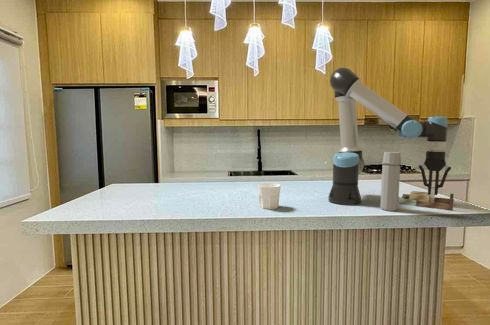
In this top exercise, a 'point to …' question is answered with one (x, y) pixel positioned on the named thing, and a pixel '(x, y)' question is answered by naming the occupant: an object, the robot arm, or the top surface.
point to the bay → (438, 202)
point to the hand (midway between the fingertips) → (432, 201)
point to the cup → (269, 195)
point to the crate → (419, 196)
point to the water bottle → (390, 181)
